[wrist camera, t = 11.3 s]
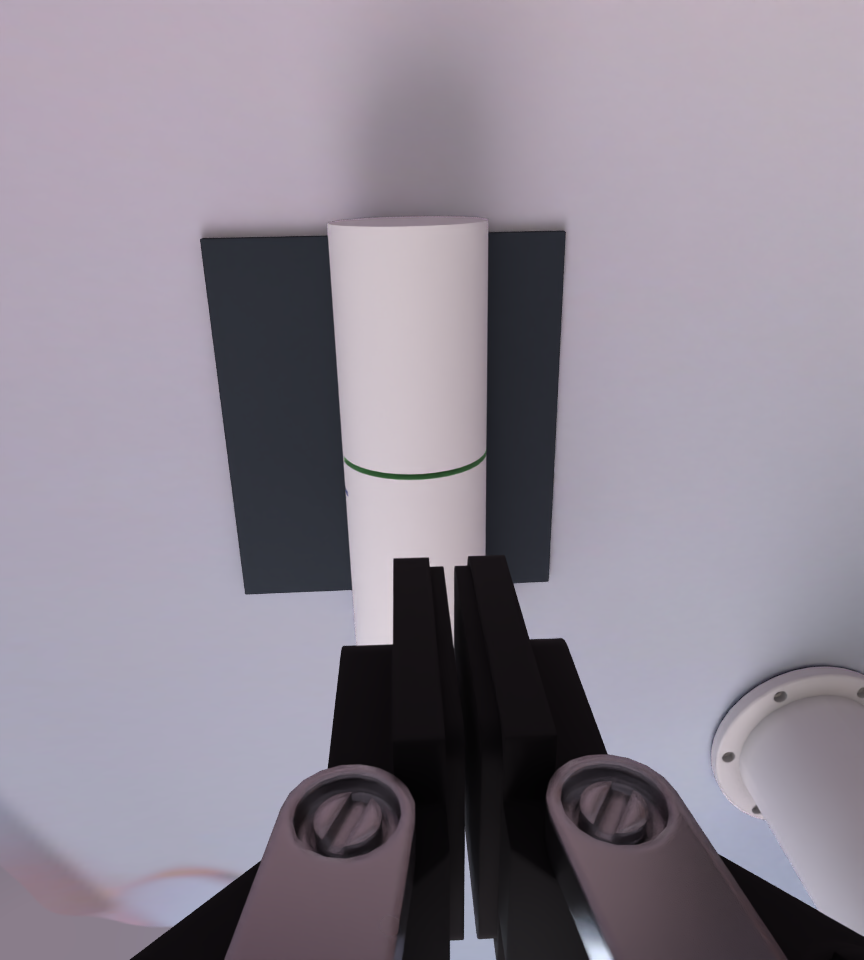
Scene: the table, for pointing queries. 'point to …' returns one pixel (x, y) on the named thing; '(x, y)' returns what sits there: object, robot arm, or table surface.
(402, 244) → the cylindrical container
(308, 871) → the robot arm
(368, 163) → the table surface
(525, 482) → the desk mat
